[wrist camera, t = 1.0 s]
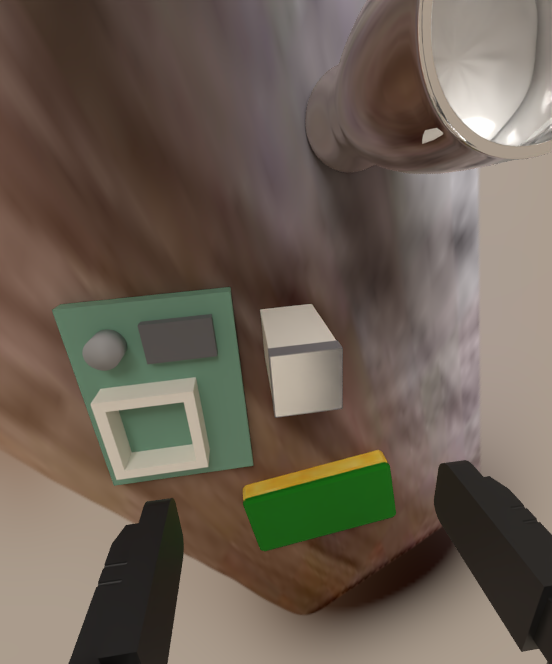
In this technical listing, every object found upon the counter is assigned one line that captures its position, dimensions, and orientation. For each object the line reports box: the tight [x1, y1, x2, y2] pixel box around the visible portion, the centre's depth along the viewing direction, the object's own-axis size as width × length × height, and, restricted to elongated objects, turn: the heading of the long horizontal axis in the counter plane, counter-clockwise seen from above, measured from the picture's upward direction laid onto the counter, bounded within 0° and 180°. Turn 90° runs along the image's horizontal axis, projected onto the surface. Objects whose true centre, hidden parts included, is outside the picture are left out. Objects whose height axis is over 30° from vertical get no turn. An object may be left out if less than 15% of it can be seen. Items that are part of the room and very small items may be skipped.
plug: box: [260, 304, 343, 418], centre depth 23 cm, size 4×4×8 cm
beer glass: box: [305, 0, 552, 174], centre depth 15 cm, size 7×7×15 cm
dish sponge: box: [243, 450, 396, 551], centre depth 33 cm, size 7×14×2 cm, turn 103°
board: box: [52, 287, 253, 486], centre depth 26 cm, size 16×12×3 cm
